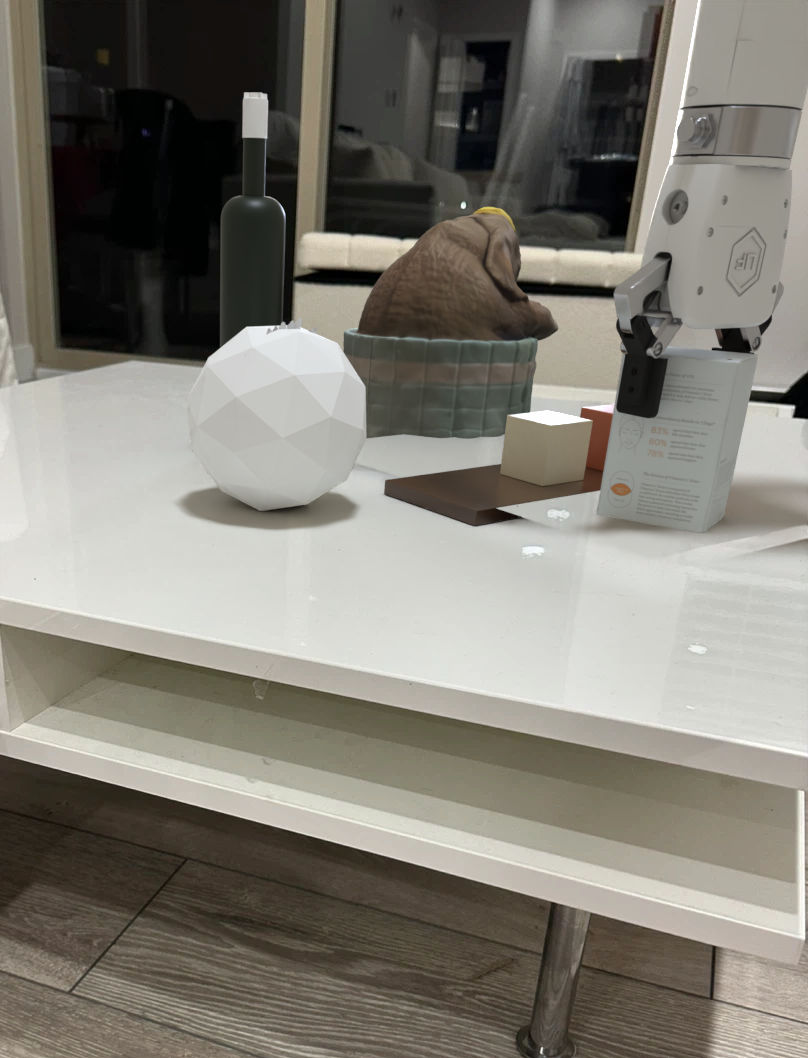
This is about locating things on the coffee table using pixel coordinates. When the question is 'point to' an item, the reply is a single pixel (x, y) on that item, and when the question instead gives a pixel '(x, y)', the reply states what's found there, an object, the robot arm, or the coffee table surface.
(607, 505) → the small box
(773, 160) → the robot arm
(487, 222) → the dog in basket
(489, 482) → the dark brown board
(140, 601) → the coffee table surface
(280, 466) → the geodesic sphere
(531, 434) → the beige block
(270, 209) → the wine bottle
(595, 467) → the terracotta cube
